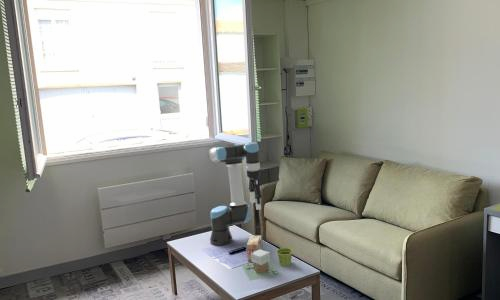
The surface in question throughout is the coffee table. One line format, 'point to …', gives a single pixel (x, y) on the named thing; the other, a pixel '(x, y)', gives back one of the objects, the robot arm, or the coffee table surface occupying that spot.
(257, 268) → the base brick
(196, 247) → the coffee table surface
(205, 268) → the coffee table surface
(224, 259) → the coffee table surface
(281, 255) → the plant pot
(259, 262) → the small box
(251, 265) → the build plate
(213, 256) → the coffee table surface
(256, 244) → the stack of blocks
